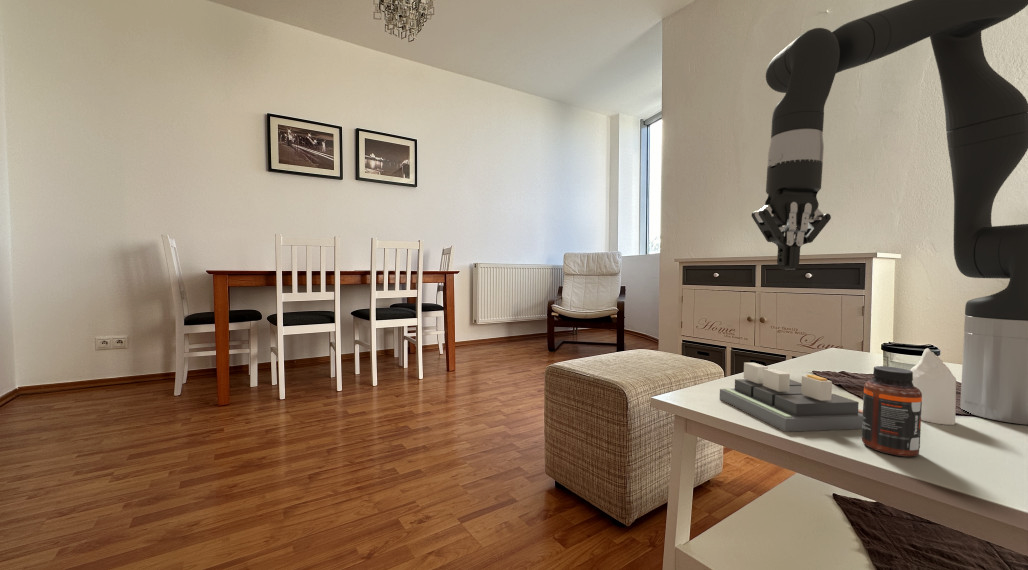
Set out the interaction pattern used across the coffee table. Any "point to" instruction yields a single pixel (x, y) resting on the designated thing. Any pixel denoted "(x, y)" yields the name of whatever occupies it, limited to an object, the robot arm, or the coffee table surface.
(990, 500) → the coffee table surface
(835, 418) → the panel
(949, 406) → the white pointed block
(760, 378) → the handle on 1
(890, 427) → the supplement bottle
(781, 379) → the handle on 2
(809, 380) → the handle
